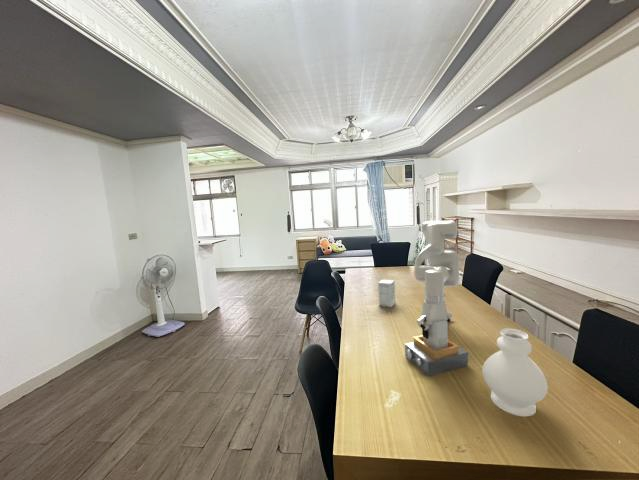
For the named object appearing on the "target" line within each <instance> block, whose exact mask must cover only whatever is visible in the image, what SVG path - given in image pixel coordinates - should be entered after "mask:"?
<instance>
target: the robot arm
mask: <svg viewBox="0 0 639 480" xmlns="http://www.w3.org/2000/svg"><path fill="white" fill-rule="evenodd" d="M458 229H459V228H458V225H457V222H456V221H455V220H449V219H448V220H429V221H424V222H423V223H422V224H421V232H422V234H423V236H424V238H425V242H424V243H425V246H424V248H422V250H420V252H419V253H418V254H417V256H416V258H415V260H414V279H415V280H416V281H418V282H424V300H423V302H422V307H421V316H420V317H419V318H418V319H417V320H416V322H417V324H418V326H419V327H420V328H421V329H422V330H421V332H422V334H421V335H423V337H425V338H426V339H428V338H429V333H428V330H427V329H428V327H429V326H430V325H433V323H435V322H439V321H447V327H448V326H449V324H450V322H451V319H452V317H453V314H452V313H449V312H447V311H448V309H447V306H446V305H447V304H446V293H445V288H444V287H457V286H459V284H460V258H459V254H458V252H457V251H454V250H445V240H450V239H451V240H452V239H453V240H454V239H456V238H457V236H458V233H459V231H458ZM426 260H427V263H428V264H427V265H425V264H424V265H423V262H425V261H426ZM448 268H449V269H448ZM426 324H427V325H426ZM425 325H426V326H425Z"/></svg>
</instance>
